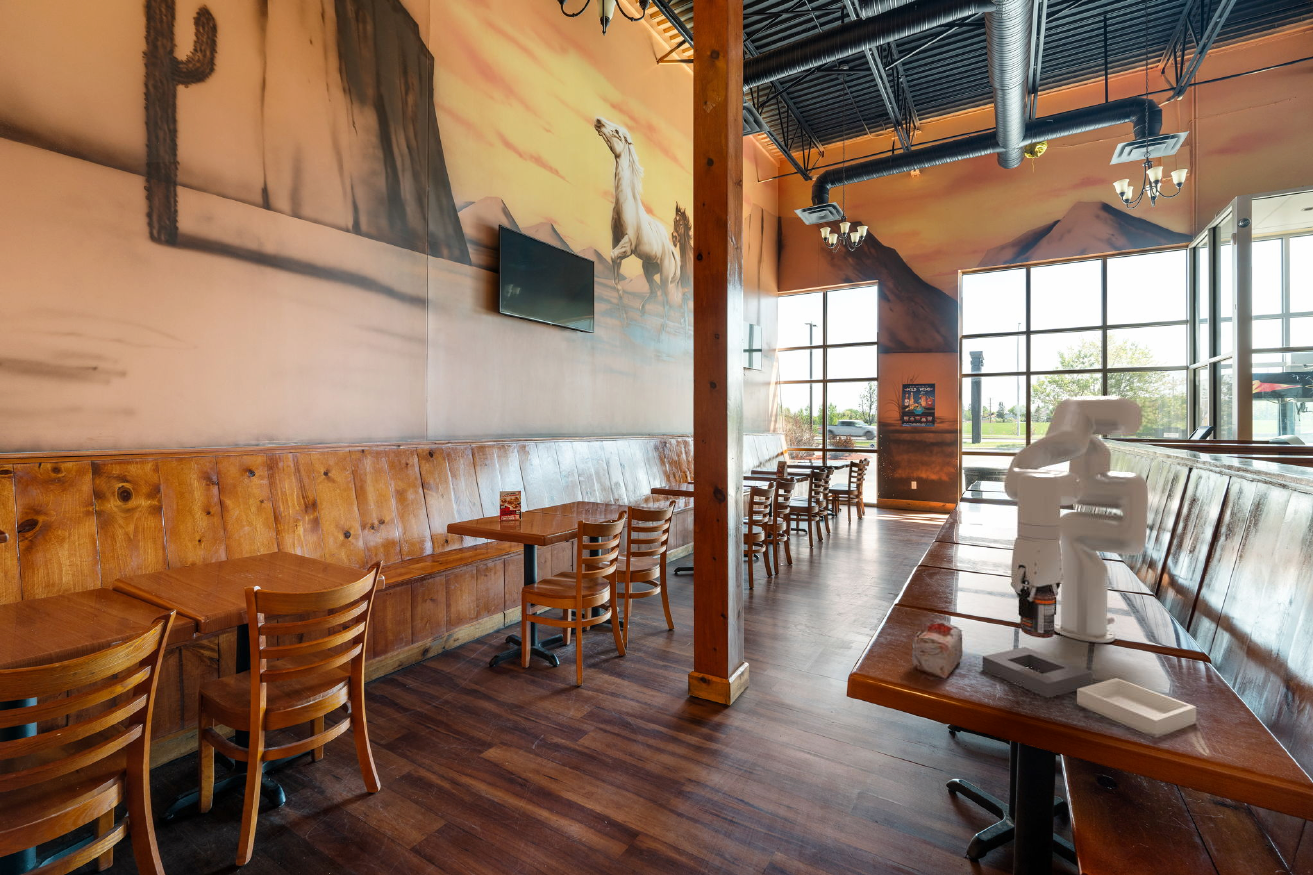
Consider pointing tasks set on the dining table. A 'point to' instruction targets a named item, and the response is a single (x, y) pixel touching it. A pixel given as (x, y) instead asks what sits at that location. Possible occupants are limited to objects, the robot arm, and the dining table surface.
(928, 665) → the food item
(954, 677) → the dining table surface
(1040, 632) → the supplement bottle
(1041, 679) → the frame
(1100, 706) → the tray
